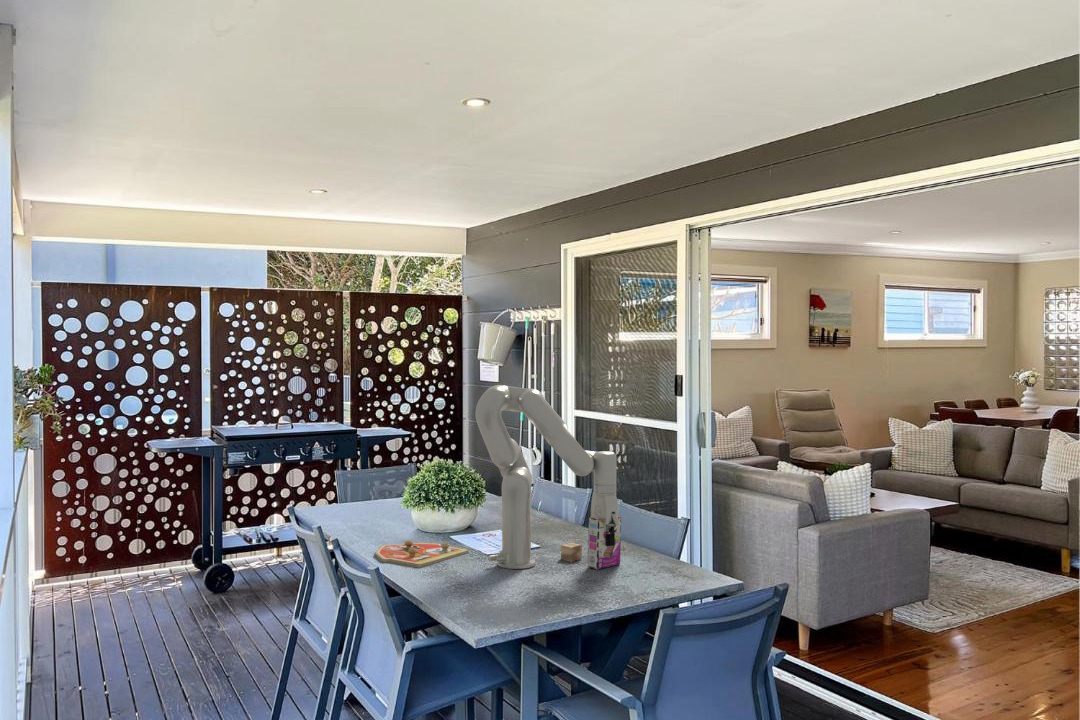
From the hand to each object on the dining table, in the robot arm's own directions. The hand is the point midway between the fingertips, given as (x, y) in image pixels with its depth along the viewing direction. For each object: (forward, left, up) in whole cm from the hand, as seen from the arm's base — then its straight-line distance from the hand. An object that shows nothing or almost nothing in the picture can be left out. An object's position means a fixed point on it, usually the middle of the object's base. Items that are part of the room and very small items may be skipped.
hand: (604, 543), depth 283 cm
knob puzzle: (-50, +45, -8) cm, 68 cm away
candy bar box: (0, 0, -8) cm, 8 cm away
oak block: (-5, +13, -8) cm, 16 cm away
